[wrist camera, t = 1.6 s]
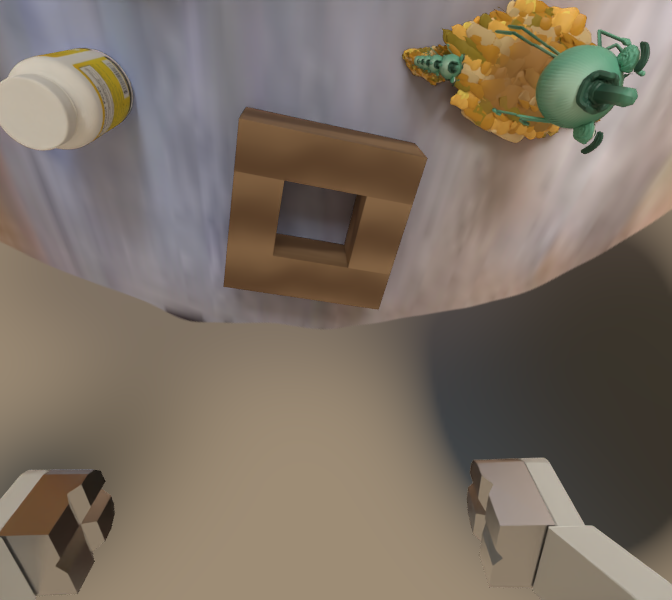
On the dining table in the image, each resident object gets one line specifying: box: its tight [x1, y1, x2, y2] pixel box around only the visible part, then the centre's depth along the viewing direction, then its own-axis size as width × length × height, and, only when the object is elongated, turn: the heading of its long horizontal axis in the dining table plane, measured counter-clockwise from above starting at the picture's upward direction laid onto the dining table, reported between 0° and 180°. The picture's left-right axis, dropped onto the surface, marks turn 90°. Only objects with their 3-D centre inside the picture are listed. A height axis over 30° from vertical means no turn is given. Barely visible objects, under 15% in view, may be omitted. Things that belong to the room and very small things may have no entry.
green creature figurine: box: [402, 0, 650, 154], centre depth 29 cm, size 10×18×15 cm, turn 69°
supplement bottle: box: [0, 48, 133, 150], centre depth 29 cm, size 5×5×10 cm
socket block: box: [224, 107, 427, 309], centre depth 37 cm, size 14×14×4 cm
